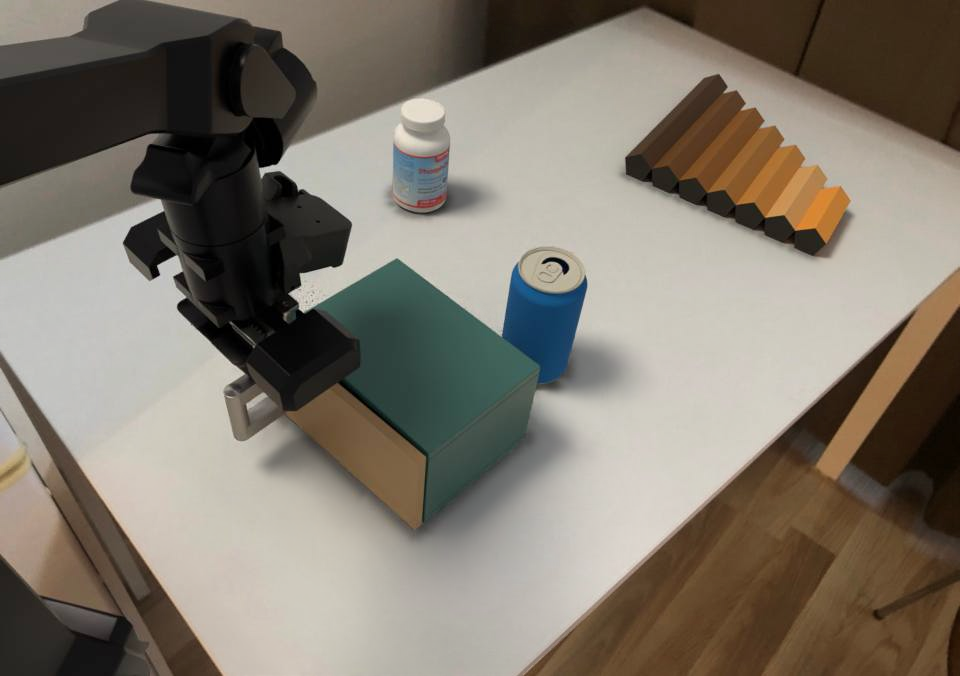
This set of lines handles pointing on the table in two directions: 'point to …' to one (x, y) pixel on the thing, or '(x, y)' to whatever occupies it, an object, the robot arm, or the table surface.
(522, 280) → the beverage can
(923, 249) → the table surface
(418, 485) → the wooden cabinet door
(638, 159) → the pan flute
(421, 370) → the green cabinet
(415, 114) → the pill bottle
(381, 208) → the table surface
